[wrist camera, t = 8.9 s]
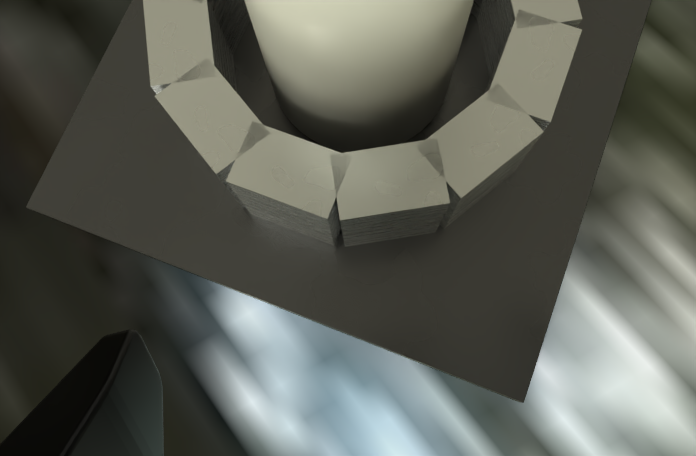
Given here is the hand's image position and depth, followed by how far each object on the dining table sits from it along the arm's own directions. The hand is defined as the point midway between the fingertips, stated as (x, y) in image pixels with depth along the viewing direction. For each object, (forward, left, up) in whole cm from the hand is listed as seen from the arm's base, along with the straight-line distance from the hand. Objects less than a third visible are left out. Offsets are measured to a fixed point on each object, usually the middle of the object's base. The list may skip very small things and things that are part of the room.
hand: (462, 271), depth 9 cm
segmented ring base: (+6, +4, -8) cm, 11 cm away
